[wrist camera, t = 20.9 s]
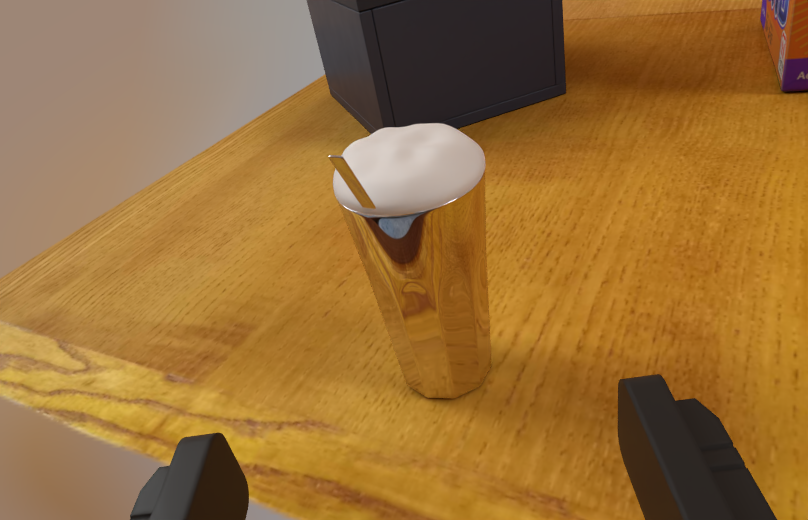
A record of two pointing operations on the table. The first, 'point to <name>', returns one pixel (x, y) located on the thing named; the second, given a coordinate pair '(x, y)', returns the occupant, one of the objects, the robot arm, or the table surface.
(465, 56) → the case
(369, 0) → the case lid
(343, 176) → the milkshake
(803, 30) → the game box
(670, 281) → the table surface
